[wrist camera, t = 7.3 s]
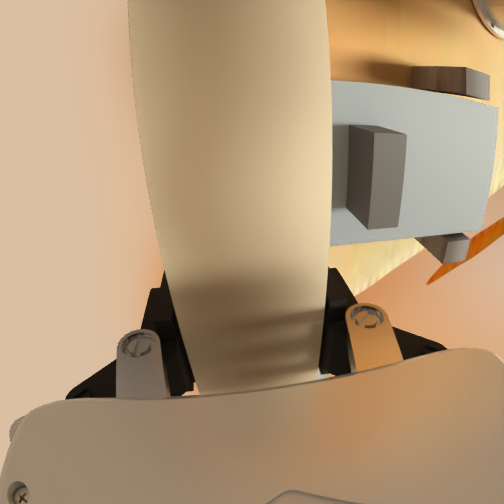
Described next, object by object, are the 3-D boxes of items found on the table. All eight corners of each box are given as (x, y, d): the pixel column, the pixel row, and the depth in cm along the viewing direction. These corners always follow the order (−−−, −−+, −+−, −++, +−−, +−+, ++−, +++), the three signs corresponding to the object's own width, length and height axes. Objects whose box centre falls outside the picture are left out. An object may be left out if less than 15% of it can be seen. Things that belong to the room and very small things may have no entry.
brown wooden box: (451, 75, 31) (504, 81, 22) (437, 224, 42) (479, 257, 33) (266, 53, 29) (286, 38, 20) (274, 239, 41) (292, 285, 31)
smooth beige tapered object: (278, -39, 7) (310, -93, 3) (288, 423, 18) (300, 475, 15) (157, -30, 7) (129, -83, 3) (228, 431, 18) (233, 484, 15)
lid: (484, 104, 27) (528, 115, 20) (469, 222, 34) (505, 248, 28) (280, 80, 25) (301, 76, 18) (285, 238, 33) (302, 278, 26)
